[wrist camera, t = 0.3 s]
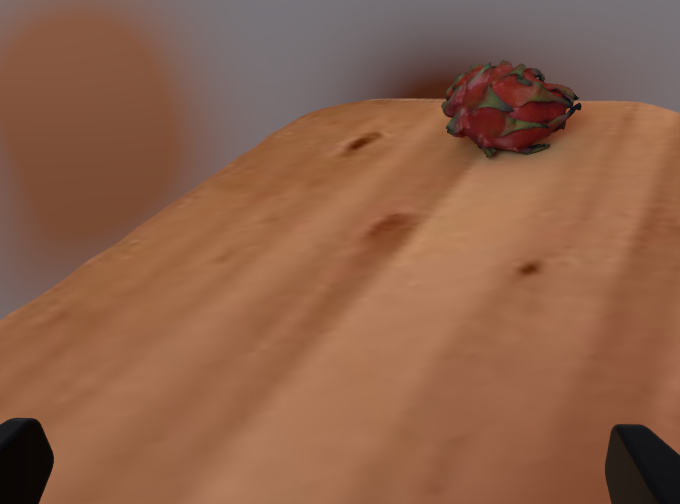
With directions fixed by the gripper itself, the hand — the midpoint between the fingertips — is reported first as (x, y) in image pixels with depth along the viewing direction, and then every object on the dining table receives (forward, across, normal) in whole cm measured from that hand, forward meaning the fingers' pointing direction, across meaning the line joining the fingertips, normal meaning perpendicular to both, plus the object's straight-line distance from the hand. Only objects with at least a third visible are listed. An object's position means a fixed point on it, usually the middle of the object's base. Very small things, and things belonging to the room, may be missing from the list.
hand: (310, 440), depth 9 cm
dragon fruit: (+47, -11, +11) cm, 49 cm away
